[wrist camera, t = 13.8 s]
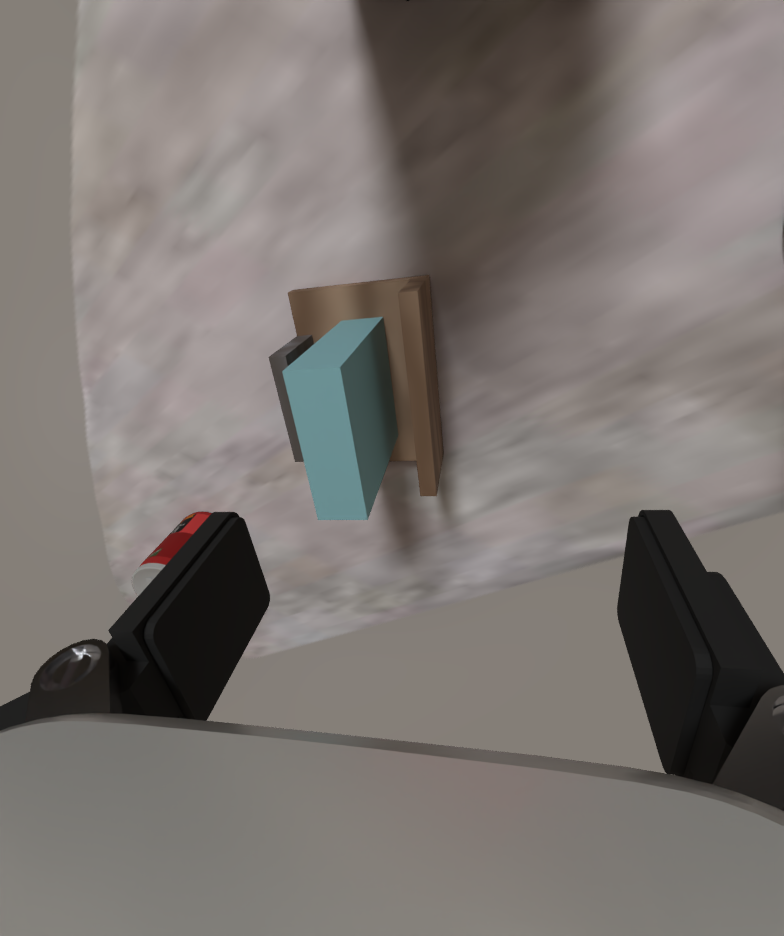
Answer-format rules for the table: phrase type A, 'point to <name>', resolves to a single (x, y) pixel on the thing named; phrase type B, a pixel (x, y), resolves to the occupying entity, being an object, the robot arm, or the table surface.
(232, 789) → the robot arm
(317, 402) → the teal rectangular block
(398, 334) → the tan flanged panel
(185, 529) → the canned food
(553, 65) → the table surface
